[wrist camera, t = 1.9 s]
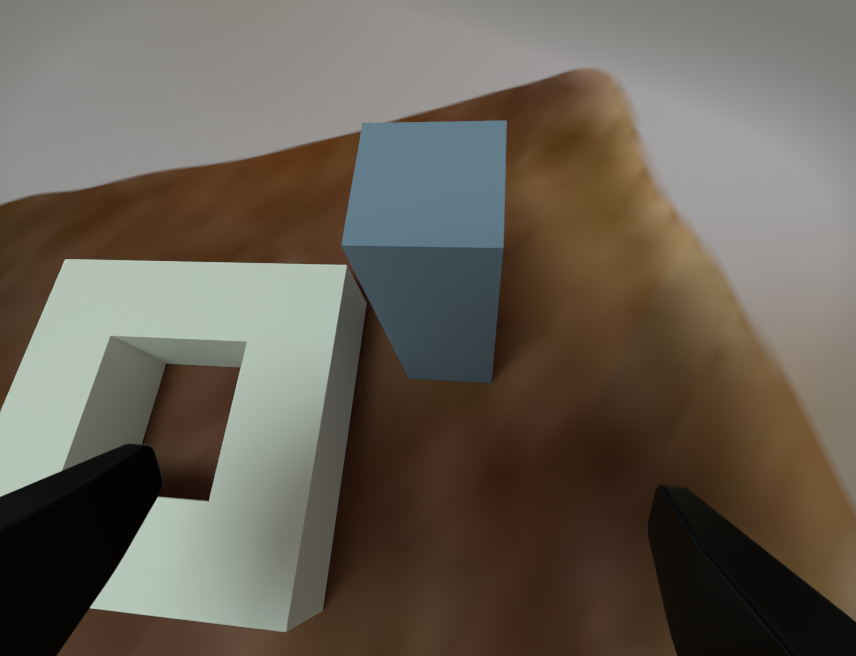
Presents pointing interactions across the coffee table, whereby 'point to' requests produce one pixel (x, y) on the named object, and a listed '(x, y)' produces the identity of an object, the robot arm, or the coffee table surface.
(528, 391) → the coffee table surface
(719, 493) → the coffee table surface
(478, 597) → the coffee table surface
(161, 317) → the socket block
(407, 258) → the peg
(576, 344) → the coffee table surface
